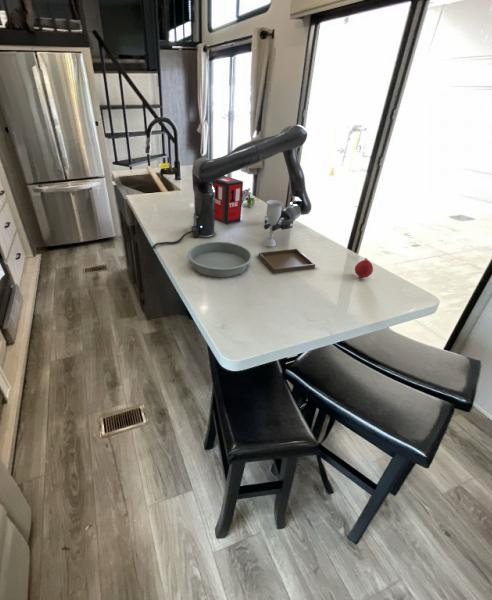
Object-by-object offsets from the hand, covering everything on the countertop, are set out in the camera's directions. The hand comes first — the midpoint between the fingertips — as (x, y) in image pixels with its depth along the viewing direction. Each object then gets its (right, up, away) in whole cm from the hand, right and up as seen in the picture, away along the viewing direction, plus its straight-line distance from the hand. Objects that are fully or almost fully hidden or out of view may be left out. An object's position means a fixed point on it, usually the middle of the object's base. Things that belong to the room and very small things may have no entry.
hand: (269, 228), depth 132 cm
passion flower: (-3, +27, +59) cm, 65 cm away
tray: (+5, -15, -5) cm, 17 cm away
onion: (+30, -22, -16) cm, 41 cm away
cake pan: (-21, -16, -7) cm, 27 cm away
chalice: (+2, -6, +7) cm, 9 cm away
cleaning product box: (-17, +14, +39) cm, 44 cm away
